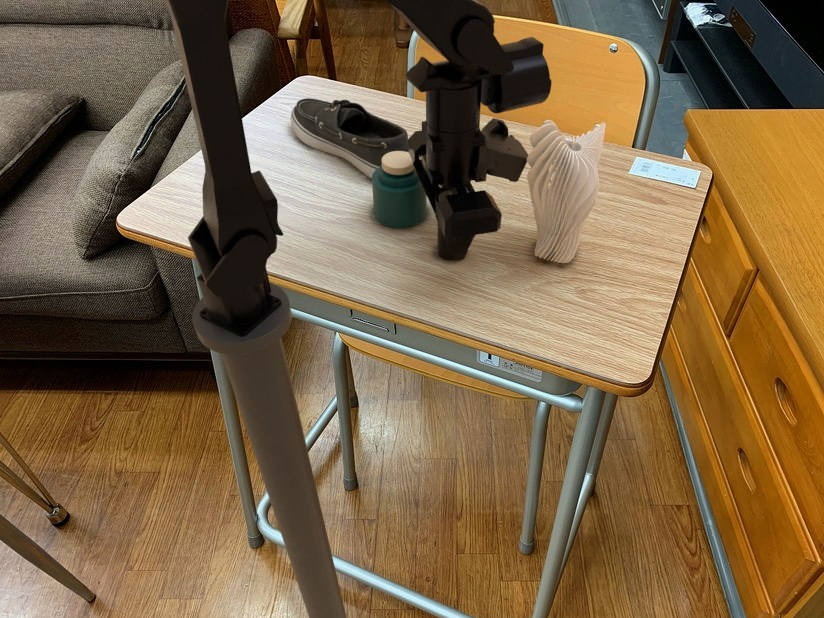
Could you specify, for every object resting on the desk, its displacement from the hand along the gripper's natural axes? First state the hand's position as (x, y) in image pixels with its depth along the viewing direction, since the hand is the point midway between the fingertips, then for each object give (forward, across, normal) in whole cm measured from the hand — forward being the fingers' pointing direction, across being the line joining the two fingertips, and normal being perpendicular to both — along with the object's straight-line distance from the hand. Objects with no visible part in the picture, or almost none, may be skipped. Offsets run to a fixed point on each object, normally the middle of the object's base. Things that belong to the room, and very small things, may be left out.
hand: (450, 239), depth 81 cm
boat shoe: (+2, +28, +8) cm, 29 cm away
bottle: (+2, +10, +4) cm, 11 cm away
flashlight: (+2, 0, 0) cm, 2 cm away
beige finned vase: (+2, -3, -13) cm, 13 cm away
